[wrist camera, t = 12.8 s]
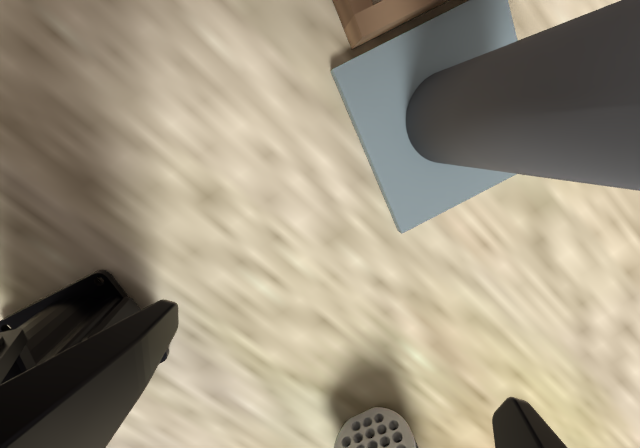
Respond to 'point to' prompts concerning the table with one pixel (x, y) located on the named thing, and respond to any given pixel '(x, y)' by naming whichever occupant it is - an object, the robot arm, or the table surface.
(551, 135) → the grey jar with lid
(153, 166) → the table surface
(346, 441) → the flashlight
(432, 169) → the mat
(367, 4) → the brown square frame
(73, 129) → the table surface
